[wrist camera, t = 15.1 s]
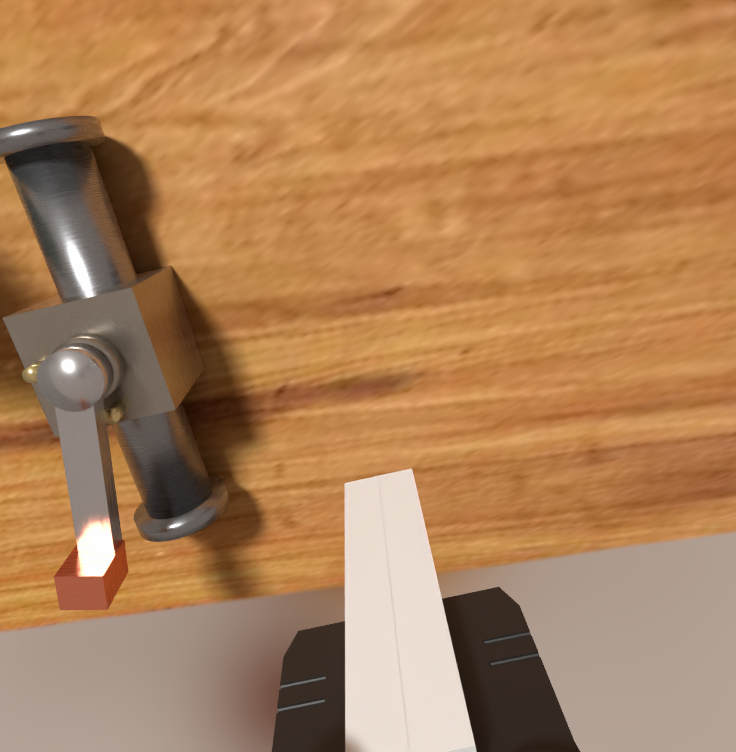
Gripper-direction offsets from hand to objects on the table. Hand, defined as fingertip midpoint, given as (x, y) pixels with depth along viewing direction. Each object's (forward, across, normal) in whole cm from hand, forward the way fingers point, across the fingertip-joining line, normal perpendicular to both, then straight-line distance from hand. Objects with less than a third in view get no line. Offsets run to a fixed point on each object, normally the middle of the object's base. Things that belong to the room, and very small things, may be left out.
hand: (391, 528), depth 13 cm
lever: (+23, -18, -6) cm, 30 cm away
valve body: (+32, -17, 0) cm, 37 cm away
